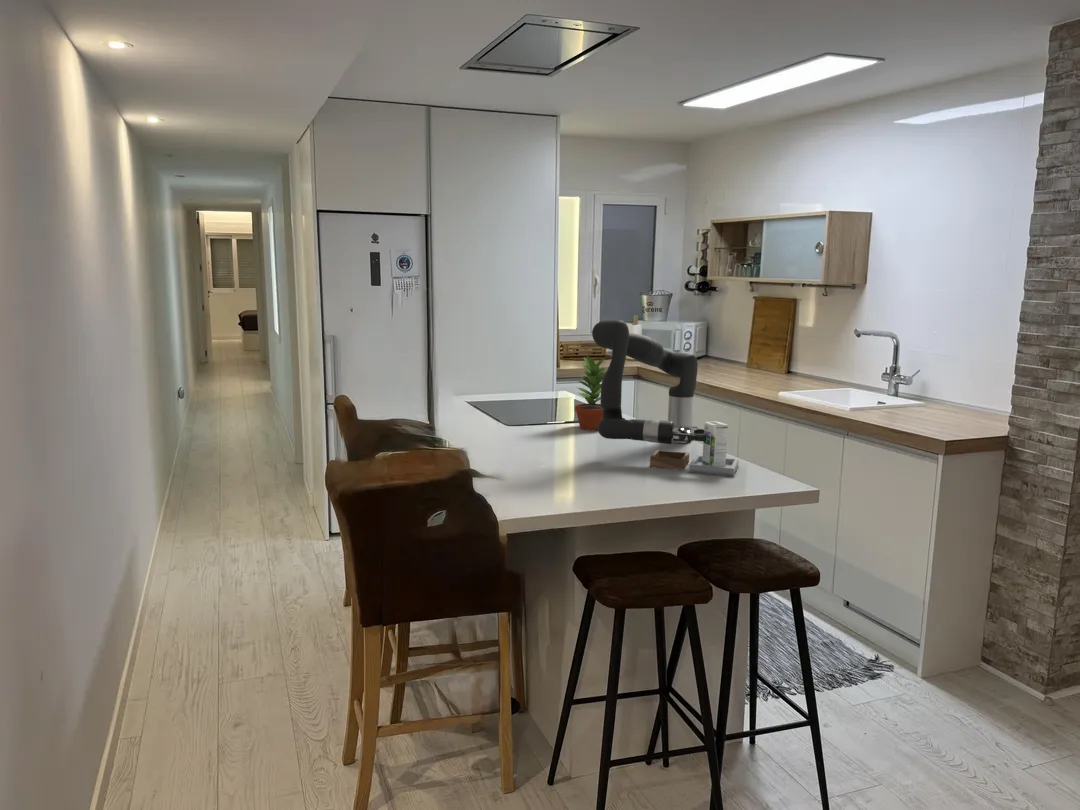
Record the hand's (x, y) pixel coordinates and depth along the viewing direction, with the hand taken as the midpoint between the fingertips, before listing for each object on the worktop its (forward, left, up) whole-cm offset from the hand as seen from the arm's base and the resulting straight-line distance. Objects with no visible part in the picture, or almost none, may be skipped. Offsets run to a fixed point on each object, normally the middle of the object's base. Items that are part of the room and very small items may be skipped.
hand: (708, 435), depth 263 cm
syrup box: (0, +2, -10) cm, 11 cm away
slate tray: (0, +2, -11) cm, 11 cm away
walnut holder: (0, -12, -11) cm, 16 cm away
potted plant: (-50, -53, -11) cm, 73 cm away
